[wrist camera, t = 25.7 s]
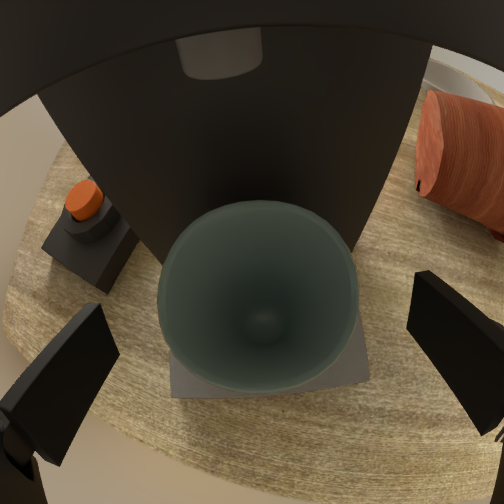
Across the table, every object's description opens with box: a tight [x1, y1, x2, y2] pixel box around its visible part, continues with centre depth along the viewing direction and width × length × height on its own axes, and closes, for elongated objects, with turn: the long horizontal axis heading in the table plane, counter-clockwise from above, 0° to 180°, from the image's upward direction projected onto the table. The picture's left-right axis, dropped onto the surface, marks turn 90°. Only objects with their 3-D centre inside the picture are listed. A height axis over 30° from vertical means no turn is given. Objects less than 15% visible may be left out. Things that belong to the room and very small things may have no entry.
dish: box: [421, 59, 495, 105], centre depth 31 cm, size 18×14×5 cm
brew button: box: [65, 180, 104, 222], centre depth 22 cm, size 4×4×2 cm
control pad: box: [41, 175, 140, 294], centre depth 24 cm, size 10×12×4 cm
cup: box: [157, 200, 360, 395], centre depth 14 cm, size 8×8×10 cm
